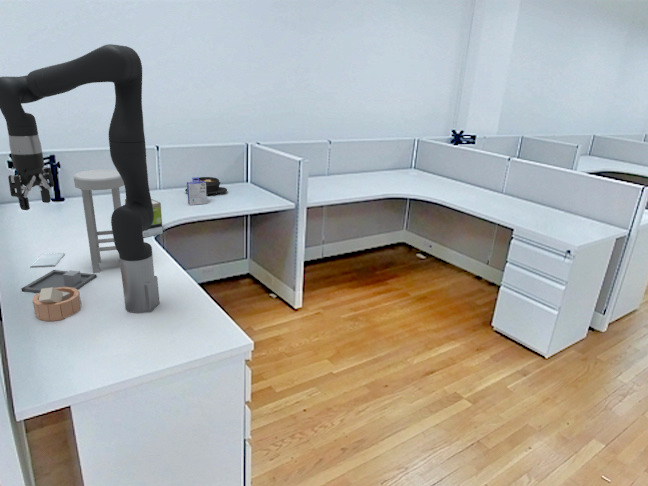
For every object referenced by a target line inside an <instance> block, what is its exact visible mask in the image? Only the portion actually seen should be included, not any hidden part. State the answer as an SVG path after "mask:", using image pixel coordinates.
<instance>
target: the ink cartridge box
mask: <svg viewBox="0 0 648 486" xmlns="http://www.w3.org/2000/svg"><path fill="white" fill-rule="evenodd" d="M193 179H198V180H193ZM186 189H187V192H186V193H187V204H188V206H195V205H207V204H208V197H207V196H208V195H206V182H205V181H199V177H192V180H191V181H186Z"/></svg>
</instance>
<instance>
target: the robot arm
mask: <svg viewBox="0 0 648 486" xmlns="http://www.w3.org/2000/svg"><path fill="white" fill-rule="evenodd" d="M93 83H113V84H114V92H115V102H114V103H115V105H114V108H113V109H114V110H113V113H112V117H111V119H110V123H109V128H108V145H109V154H110V159H111V161H112V163H113V165H114V168H115V170H117V171H118V172H119V174H120V176H121V177H122V179H123V182H124V191H125V199H126V204H125V203H124V204H123V205H121V207H119V208H117V209H116V210H114V209H113V212H112V213H111V217H110V225H111V231H112V232H113V234H112V238H114V242H113V243H114V246H115V247H116V249H117V250H116V252H118V257H119V263H120V267H119V268H120V272H121V273H120V274H121V283H122V289H123V291H122V292H123V298H124V305H125V310H126V311H127V312H129V313H134V314H141V313H147V312H148V313H151V312H152V311H153V310H154V309H155V308H156V307H157V306H158V305H160V291H159V281H158V280H159V279H158V275H155V269H154V256H153V247H152V245H151V244H150V243H148V242H145V240H144V239H145V238H144V237H143V231H145V230H147V229H148V228H149V227H150V226H151V225H152V223H153V220H154V212H153V206H152V201H151V199H152V196H151V192H150V187H149V185H150V184H149V175H148V174H149V173H148V165H147V148H146V147H147V146H146V137H145V136H146V135H145V128H144V114H143V113H144V112H143V100H142V99H143V98H142V97H143V96H142V95H143V65H142V61H141V58H140V56H139V54H138V53H137V52H136V51H135V49H134V48H132V47H129V46H127V45H120V44H111V43H110V44H109V43H107V44H104V45H101V46H100V47H97V48H95V49H94V50H92V51H90V52H88V53H85V54H84V55H82V56H79V57H77V58H75V59H72V60H69V61H65V62H62V63H57V64H52V65H49V66H45V67H42V68H38V69H34V70H32V71H30V72H29V73H27V75H23V76H21V75H20V76H0V111H1V114H2V115H3V118H4V119H5V123H6V129H7V134H8V144H9V149H10V156H11V161H12V164H13V165H12V166H13V167H14V169H16V171H17V174H16V175H12V174H11V175H10V174H9V175H8V178H7V179H8V184H9V185H8V186H9V191H10V195H11V197H15V198H18V204H19V207H20V209H21V210H22V211H30V210H31V208H30V201H29V198H28V195H29V193H30V192H31V190H32V189H33V188H34V187H36V186H37V187H38V188H39V189H40V195H41V201H42V203H43V204H44V203H48V204H49V203H50V202H51V194H50V190H51V188H54V186H55V182H54V178H53V174H52V168H51V167H46V166H45V160H44V156H43V155H44V154H43V149H42V143H41V140H40V137H39V132H38V131H39V130H38V126H37V121H36V117H35V116H34V115H33V114H32V113H29V112H26V111H25V110H24V107H23V106H22V104H29V103H35V102H37V101H38V102H39V100H43V99H45V98H48V97H49V98H50V97H52V96H56V95H62V94H65V93H68V92H70V91H72V90H75V89H76V88H79V87H81V86H83V85H88V84H93Z"/></svg>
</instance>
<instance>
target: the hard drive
mask: <svg viewBox="0 0 648 486" xmlns="http://www.w3.org/2000/svg"><path fill="white" fill-rule="evenodd" d="M65 256H66V253H65V252H55V253H54V252H52V253H51V252H49V253H48V252H47V253H42V254H40V255H39V256H38V258H37V259H35V261H34V262H33V263H32V264H31V265H30V267H29V268H30V269H33V268H34V269H35V268H37V269H38V268H55V267H57V265H58V264H59V263H60V262H61V260H62V259H64V257H65Z"/></svg>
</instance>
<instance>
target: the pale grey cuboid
mask: <svg viewBox="0 0 648 486" xmlns="http://www.w3.org/2000/svg"><path fill="white" fill-rule="evenodd" d="M61 292H63V291H61ZM69 298H71V296H70V293H68V292H63V296H62V300H61V302H62V301H65V300H68V299H69Z"/></svg>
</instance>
